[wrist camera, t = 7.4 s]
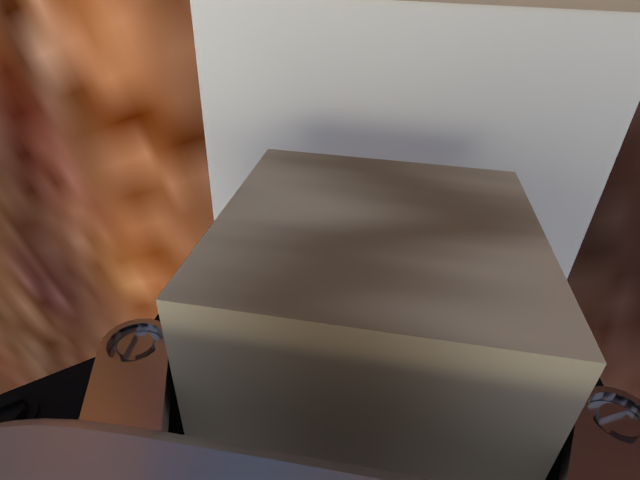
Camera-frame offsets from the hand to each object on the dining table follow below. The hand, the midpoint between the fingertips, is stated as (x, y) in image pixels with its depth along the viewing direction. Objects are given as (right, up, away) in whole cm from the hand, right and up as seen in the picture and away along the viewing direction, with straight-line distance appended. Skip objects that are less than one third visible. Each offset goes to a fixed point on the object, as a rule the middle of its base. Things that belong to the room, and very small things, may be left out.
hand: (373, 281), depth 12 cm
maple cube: (0, +1, +1) cm, 1 cm away
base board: (+1, +4, +6) cm, 7 cm away
